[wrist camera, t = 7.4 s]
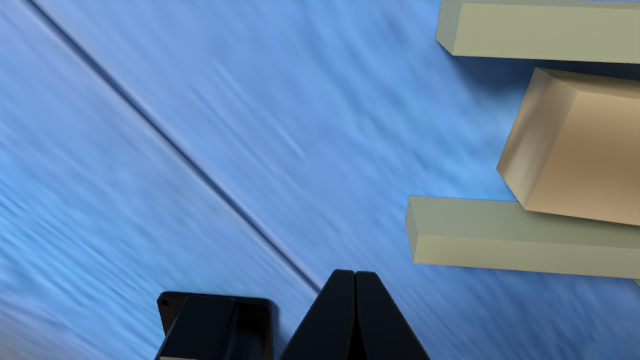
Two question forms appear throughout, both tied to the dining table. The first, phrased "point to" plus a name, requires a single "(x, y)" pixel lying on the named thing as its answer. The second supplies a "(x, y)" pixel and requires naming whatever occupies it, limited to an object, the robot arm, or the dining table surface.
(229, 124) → the dining table surface
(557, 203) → the maple bracket block
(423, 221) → the sage slot bracket
